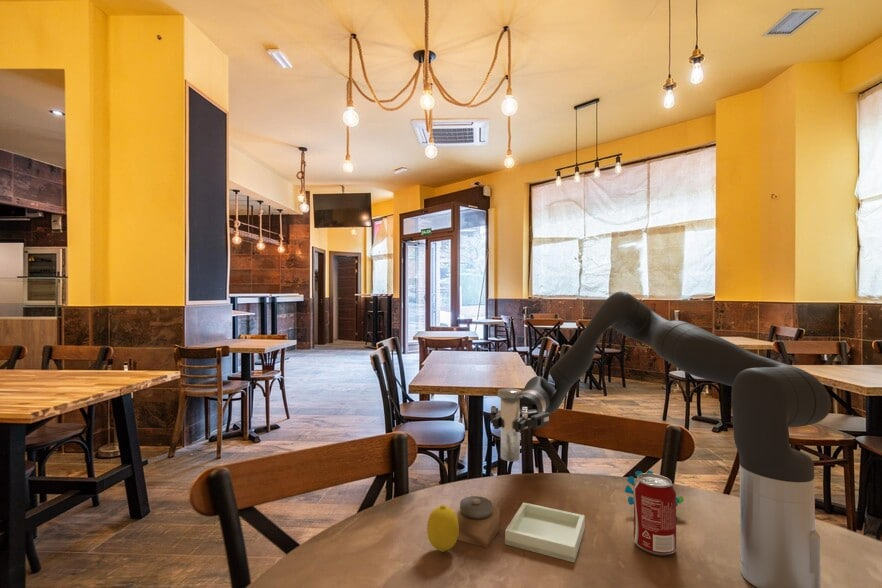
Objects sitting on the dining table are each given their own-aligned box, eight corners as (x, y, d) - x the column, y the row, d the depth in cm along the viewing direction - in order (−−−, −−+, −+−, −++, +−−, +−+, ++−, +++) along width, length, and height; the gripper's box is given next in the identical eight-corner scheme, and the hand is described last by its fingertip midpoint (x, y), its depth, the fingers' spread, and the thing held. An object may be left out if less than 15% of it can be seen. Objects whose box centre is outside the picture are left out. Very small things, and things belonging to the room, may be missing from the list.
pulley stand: (499, 529, 82) (499, 496, 82) (487, 547, 76) (487, 512, 76) (465, 520, 85) (466, 489, 85) (451, 538, 79) (451, 504, 79)
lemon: (437, 539, 78) (437, 495, 78) (464, 548, 75) (464, 502, 76) (420, 554, 74) (421, 507, 74) (448, 565, 71) (449, 516, 71)
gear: (625, 511, 86) (626, 463, 93) (620, 521, 90) (620, 475, 97) (687, 526, 83) (682, 476, 90) (678, 536, 87) (674, 488, 94)
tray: (584, 528, 82) (584, 515, 82) (574, 562, 72) (574, 547, 72) (523, 514, 88) (523, 502, 88) (505, 544, 77) (505, 530, 77)
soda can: (681, 561, 72) (681, 489, 72) (638, 556, 74) (638, 485, 74) (669, 539, 79) (668, 473, 79) (629, 535, 80) (629, 470, 80)
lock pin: (525, 455, 93) (525, 389, 93) (518, 463, 88) (518, 394, 88) (502, 452, 95) (502, 387, 95) (494, 459, 90) (494, 392, 91)
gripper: (499, 389, 108) (474, 404, 92) (557, 395, 101) (540, 411, 86) (499, 419, 108) (474, 439, 92) (557, 426, 101) (540, 449, 86)
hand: (506, 425), depth 89 cm, fingers closed on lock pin, 4 cm apart
